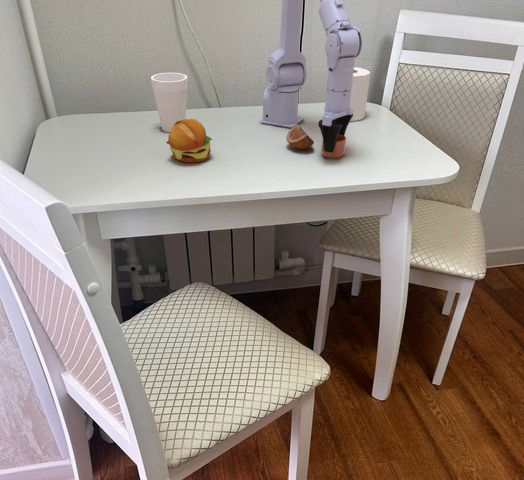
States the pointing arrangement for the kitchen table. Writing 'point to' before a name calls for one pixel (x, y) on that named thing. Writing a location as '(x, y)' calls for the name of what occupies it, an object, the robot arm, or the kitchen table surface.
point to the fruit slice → (299, 138)
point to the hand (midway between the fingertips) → (333, 147)
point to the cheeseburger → (189, 141)
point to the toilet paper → (359, 93)
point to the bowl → (336, 148)
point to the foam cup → (170, 98)
